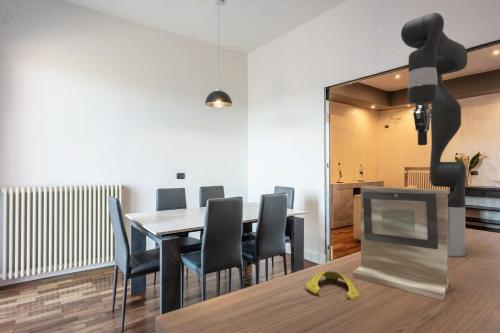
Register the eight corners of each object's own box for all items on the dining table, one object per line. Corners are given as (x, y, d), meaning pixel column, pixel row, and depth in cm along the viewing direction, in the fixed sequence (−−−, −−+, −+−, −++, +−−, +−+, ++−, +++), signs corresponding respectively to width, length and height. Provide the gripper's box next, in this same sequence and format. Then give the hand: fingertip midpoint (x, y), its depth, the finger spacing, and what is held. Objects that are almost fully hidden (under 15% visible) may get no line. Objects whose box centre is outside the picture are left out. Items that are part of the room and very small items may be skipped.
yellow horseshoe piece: (331, 277, 84) (331, 263, 84) (369, 294, 73) (369, 278, 73) (297, 288, 77) (297, 272, 77) (333, 308, 66) (333, 290, 66)
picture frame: (366, 238, 85) (364, 191, 85) (438, 247, 73) (436, 193, 73) (364, 240, 83) (362, 192, 83) (437, 249, 72) (434, 194, 72)
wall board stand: (366, 265, 92) (366, 185, 92) (449, 283, 78) (449, 188, 78) (352, 277, 83) (352, 188, 83) (443, 300, 69) (443, 192, 68)
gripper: (412, 92, 92) (412, 146, 92) (402, 84, 81) (403, 145, 82) (440, 87, 87) (440, 145, 87) (433, 79, 77) (433, 144, 77)
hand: (422, 145), depth 85 cm, fingers closed
